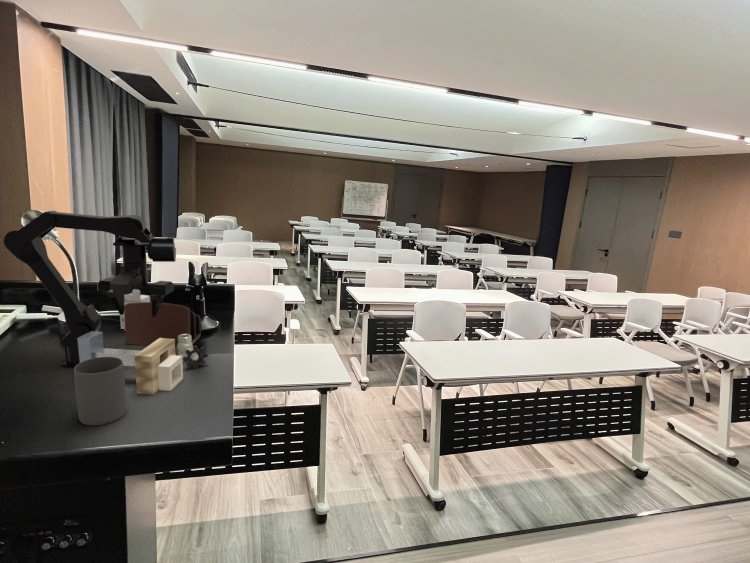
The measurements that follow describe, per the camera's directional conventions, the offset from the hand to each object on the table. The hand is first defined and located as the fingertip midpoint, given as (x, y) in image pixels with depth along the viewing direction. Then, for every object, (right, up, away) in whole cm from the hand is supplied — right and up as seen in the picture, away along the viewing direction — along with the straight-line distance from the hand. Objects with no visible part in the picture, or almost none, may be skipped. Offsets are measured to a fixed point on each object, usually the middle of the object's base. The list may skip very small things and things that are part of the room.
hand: (138, 315), depth 122 cm
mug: (+5, -20, -25) cm, 32 cm away
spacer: (+14, -17, -11) cm, 25 cm away
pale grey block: (+2, -13, -11) cm, 17 cm away
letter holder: (-1, -10, +17) cm, 20 cm away
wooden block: (+11, -17, -11) cm, 23 cm away
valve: (+13, -14, +4) cm, 19 cm away
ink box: (-14, -7, +25) cm, 30 cm away
